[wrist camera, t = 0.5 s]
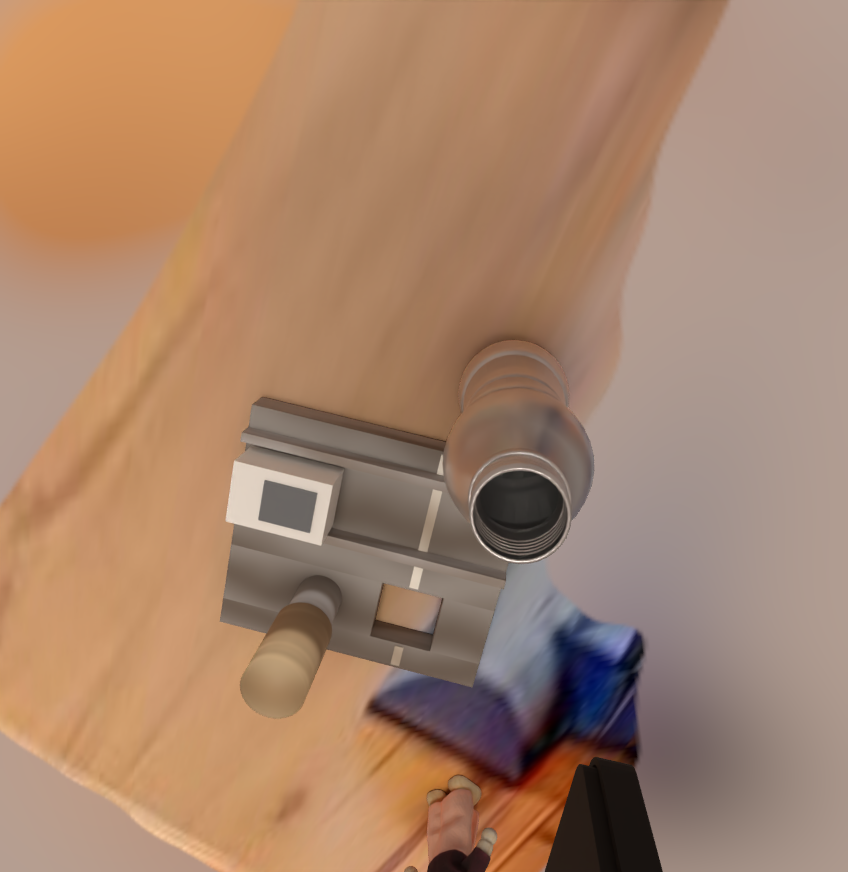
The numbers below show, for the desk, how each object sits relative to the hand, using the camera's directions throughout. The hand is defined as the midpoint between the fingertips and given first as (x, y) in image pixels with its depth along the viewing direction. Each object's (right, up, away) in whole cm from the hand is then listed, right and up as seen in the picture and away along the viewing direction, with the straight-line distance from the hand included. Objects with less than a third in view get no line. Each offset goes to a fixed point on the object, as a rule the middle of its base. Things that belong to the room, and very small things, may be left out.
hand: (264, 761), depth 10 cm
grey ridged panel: (-1, -2, +37) cm, 37 cm away
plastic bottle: (+8, +8, +33) cm, 35 cm away
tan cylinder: (-5, -6, +36) cm, 37 cm away
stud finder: (-6, +2, +34) cm, 34 cm away
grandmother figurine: (+5, -22, +42) cm, 48 cm away
